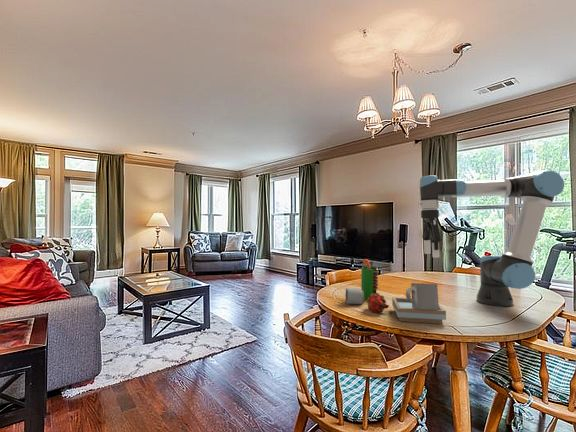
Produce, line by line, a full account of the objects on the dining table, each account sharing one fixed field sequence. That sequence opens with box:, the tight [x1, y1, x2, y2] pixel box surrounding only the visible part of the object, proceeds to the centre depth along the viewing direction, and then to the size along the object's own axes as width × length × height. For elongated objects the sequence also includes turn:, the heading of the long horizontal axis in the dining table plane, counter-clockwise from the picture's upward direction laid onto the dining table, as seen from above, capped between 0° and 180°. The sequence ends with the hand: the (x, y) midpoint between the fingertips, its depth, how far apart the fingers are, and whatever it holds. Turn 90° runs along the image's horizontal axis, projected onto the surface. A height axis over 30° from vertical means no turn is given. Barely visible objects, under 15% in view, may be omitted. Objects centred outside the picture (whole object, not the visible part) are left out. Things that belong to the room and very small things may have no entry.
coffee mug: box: [405, 282, 440, 310], centre depth 128 cm, size 13×10×10 cm
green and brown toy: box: [360, 259, 379, 300], centre depth 165 cm, size 10×9×20 cm
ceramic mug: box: [344, 287, 365, 305], centre depth 155 cm, size 11×8×8 cm
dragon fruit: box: [366, 292, 390, 314], centre depth 141 cm, size 8×8×12 cm
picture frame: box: [391, 297, 447, 324], centre depth 133 cm, size 18×18×6 cm
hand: (431, 255), depth 144 cm, fingers open, 13 cm apart
